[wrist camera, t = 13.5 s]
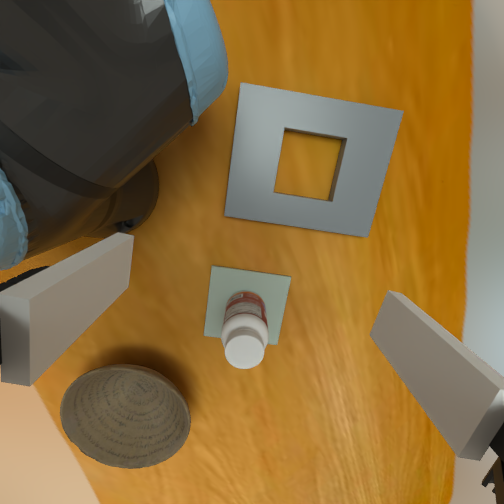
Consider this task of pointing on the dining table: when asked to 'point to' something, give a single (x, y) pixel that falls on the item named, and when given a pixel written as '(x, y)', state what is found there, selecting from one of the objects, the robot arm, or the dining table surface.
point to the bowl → (125, 416)
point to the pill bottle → (245, 329)
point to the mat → (238, 280)
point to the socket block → (316, 123)
